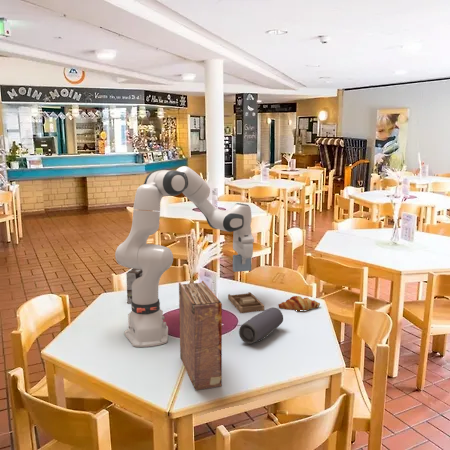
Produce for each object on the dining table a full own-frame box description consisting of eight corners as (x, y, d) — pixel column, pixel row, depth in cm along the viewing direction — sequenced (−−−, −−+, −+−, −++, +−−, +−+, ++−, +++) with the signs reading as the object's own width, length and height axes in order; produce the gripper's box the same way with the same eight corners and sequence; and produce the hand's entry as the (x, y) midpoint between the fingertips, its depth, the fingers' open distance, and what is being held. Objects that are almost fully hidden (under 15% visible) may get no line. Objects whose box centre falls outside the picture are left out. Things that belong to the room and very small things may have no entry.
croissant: (317, 312, 234) (315, 296, 236) (324, 309, 224) (322, 293, 227) (276, 314, 230) (274, 298, 232) (282, 311, 220) (280, 294, 223)
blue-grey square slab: (251, 270, 234) (251, 255, 232) (234, 271, 231) (234, 256, 230) (249, 269, 236) (249, 253, 235) (232, 270, 233) (232, 255, 232)
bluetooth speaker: (265, 325, 209) (266, 304, 207) (284, 330, 204) (284, 308, 202) (237, 343, 191) (237, 320, 189) (256, 349, 186) (257, 325, 184)
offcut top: (255, 303, 228) (255, 299, 228) (243, 304, 226) (243, 301, 226) (251, 300, 232) (251, 296, 232) (240, 301, 230) (240, 298, 230)
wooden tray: (264, 312, 224) (264, 305, 223) (240, 315, 220) (240, 308, 220) (250, 298, 243) (250, 292, 242) (228, 300, 239) (228, 294, 239)
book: (180, 357, 179) (178, 282, 173) (203, 353, 182) (202, 279, 176) (195, 391, 155) (194, 305, 150) (221, 386, 158) (221, 302, 152)
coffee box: (139, 304, 235) (137, 273, 232) (127, 303, 236) (125, 272, 233) (145, 298, 243) (144, 268, 240) (134, 297, 245) (132, 267, 242)
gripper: (229, 232, 239) (229, 258, 242) (242, 240, 220) (242, 268, 222) (241, 231, 241) (241, 257, 244) (255, 239, 222) (255, 267, 224)
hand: (242, 262), depth 233 cm, fingers closed on blue-grey square slab, 2 cm apart
